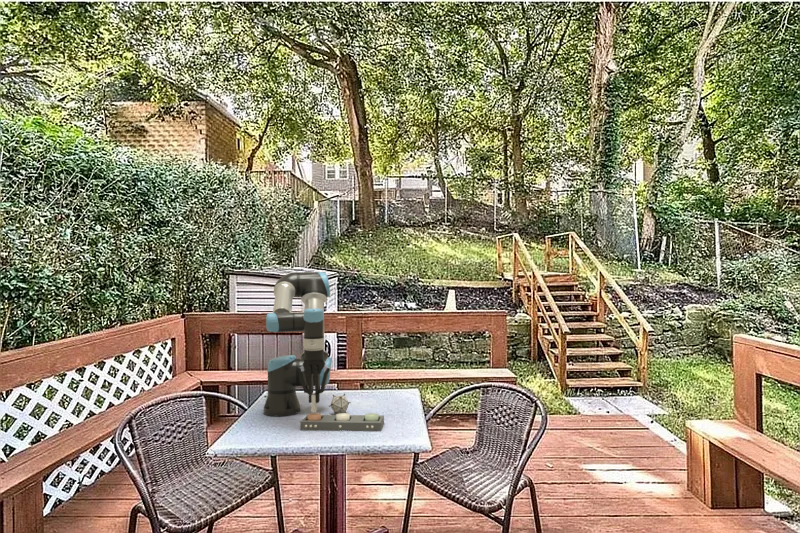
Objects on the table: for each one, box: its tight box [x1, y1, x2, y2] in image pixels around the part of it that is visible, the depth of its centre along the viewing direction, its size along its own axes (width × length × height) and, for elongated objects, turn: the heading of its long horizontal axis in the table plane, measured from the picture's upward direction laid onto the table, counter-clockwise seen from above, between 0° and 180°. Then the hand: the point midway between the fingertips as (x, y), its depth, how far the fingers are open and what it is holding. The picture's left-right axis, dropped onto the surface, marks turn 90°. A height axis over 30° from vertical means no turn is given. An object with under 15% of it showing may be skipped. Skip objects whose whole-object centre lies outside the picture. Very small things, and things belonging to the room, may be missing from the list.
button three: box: [307, 412, 322, 420], centre depth 210 cm, size 5×5×4 cm
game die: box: [328, 393, 352, 415], centre depth 229 cm, size 9×8×10 cm
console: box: [299, 414, 385, 432], centre depth 209 cm, size 30×12×3 cm, turn 85°
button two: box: [365, 412, 379, 421], centre depth 208 cm, size 5×5×4 cm
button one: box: [335, 412, 351, 421], centre depth 209 cm, size 5×5×4 cm
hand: (314, 411), depth 210 cm, fingers closed
